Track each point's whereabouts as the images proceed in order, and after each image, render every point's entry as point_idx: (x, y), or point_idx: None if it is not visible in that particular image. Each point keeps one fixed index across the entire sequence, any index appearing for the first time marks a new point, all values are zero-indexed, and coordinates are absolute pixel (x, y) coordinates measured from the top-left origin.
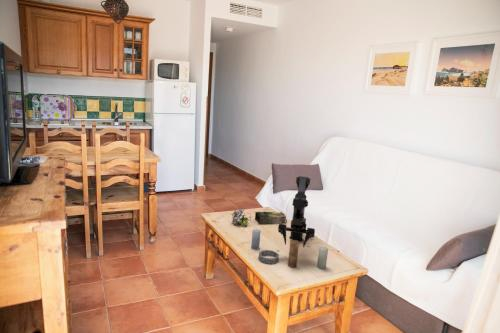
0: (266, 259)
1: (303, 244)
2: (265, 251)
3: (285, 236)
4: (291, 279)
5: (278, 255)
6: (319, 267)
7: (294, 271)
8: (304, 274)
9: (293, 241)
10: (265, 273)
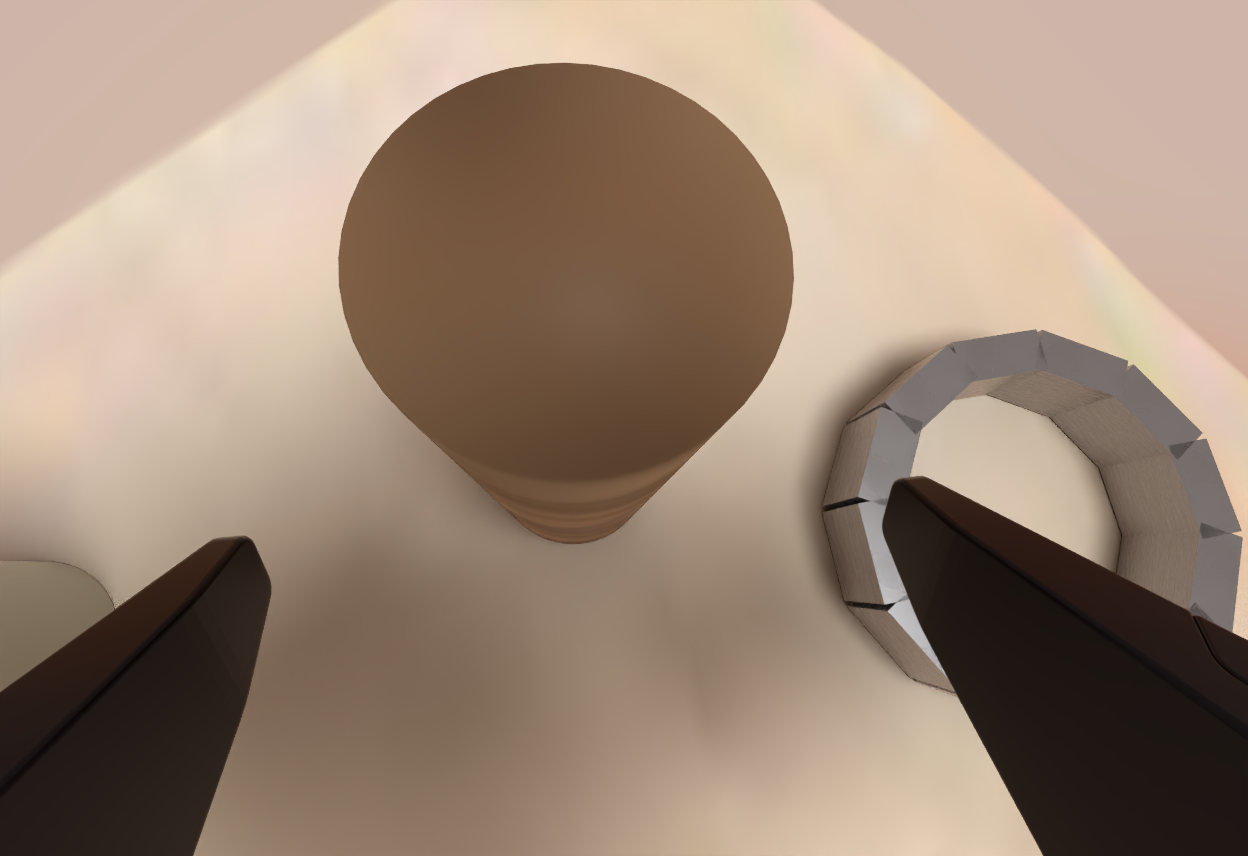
0: (1016, 334)
1: (196, 588)
2: None
3: (1190, 661)
4: None
5: (881, 562)
6: (60, 567)
7: None
8: None
9: (633, 259)
10: (877, 102)
